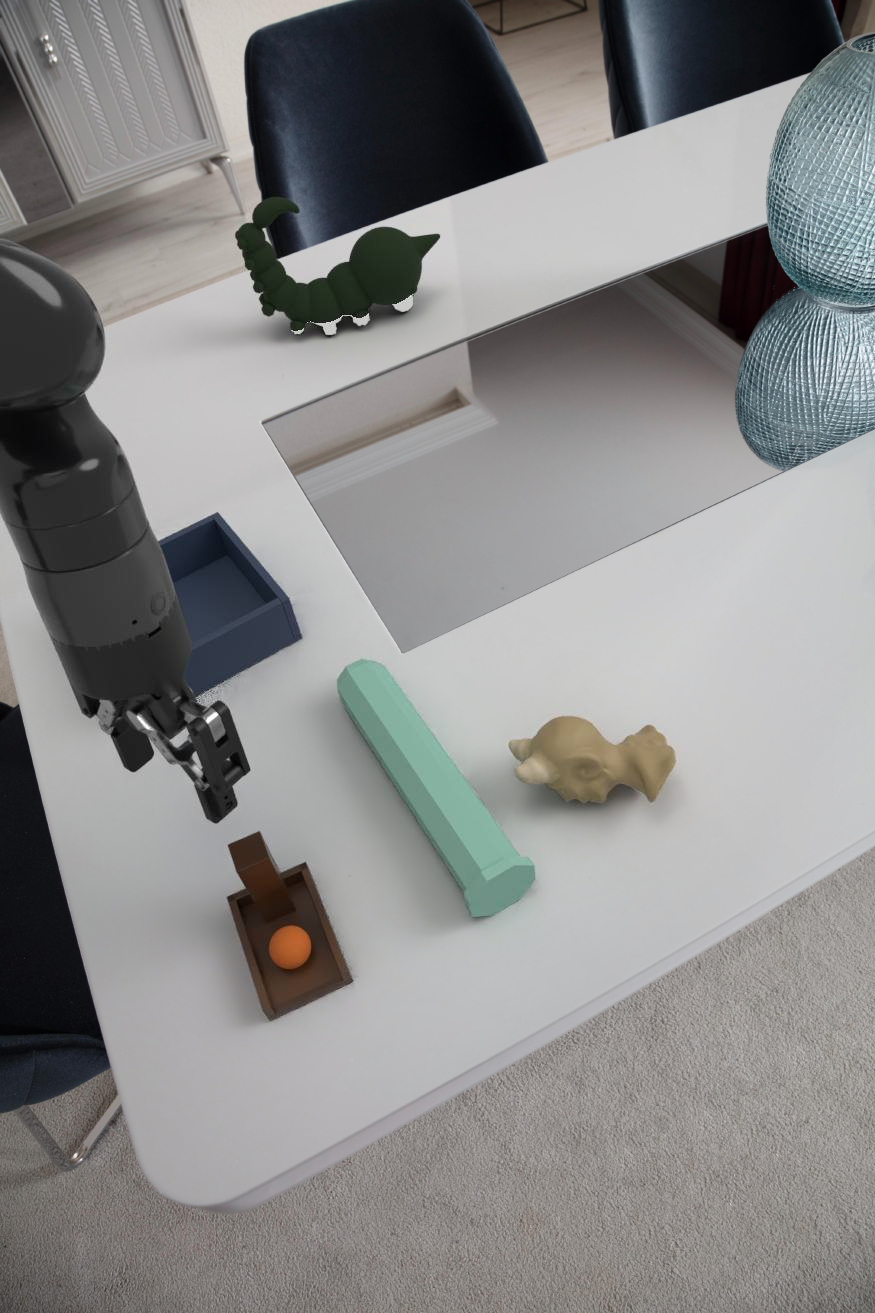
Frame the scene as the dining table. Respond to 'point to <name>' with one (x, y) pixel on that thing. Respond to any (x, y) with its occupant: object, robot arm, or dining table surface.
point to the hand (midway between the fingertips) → (180, 787)
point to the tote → (225, 602)
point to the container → (435, 791)
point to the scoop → (268, 910)
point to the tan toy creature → (592, 760)
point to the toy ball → (290, 947)
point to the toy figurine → (333, 271)
